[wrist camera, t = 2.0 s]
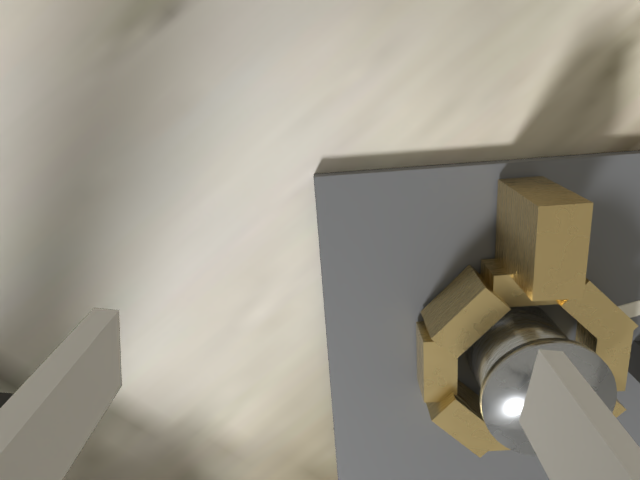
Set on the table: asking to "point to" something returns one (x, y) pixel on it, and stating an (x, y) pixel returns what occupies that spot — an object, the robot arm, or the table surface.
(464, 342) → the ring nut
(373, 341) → the cap plate
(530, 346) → the cylinder
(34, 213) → the table surface
